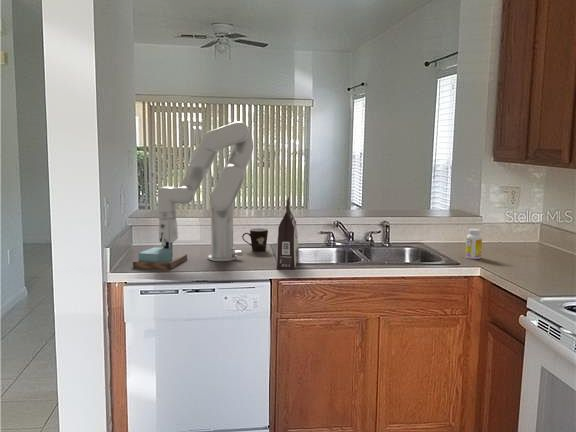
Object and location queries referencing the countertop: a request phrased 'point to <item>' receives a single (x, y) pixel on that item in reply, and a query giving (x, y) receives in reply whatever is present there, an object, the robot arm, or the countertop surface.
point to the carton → (156, 255)
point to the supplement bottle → (473, 244)
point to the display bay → (160, 264)
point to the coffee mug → (258, 239)
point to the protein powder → (287, 241)
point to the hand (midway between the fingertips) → (168, 257)
